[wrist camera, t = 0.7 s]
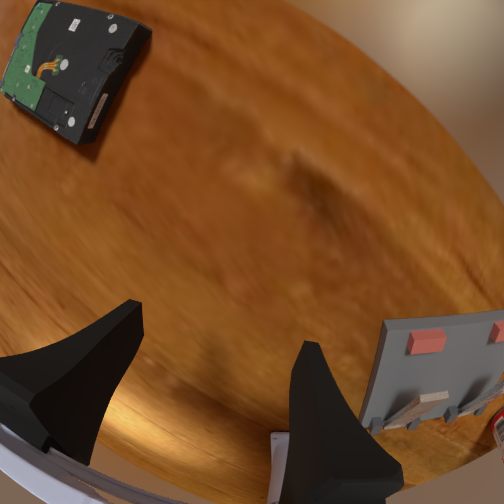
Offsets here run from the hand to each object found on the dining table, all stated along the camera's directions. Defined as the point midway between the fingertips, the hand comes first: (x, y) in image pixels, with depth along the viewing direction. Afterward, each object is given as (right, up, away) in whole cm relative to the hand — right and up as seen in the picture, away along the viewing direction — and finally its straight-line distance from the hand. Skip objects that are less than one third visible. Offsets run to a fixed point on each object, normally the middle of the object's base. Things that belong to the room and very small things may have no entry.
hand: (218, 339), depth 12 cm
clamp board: (+20, -8, +11) cm, 24 cm away
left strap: (+15, -10, +8) cm, 20 cm away
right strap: (+24, -10, +7) cm, 27 cm away
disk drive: (-14, +20, +6) cm, 26 cm away
